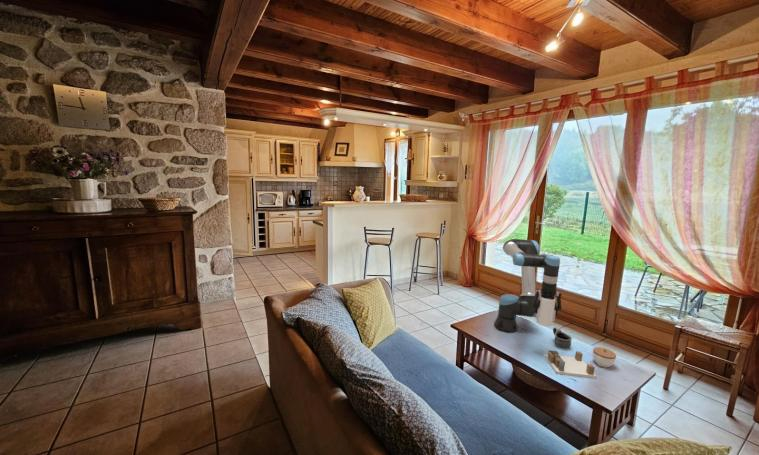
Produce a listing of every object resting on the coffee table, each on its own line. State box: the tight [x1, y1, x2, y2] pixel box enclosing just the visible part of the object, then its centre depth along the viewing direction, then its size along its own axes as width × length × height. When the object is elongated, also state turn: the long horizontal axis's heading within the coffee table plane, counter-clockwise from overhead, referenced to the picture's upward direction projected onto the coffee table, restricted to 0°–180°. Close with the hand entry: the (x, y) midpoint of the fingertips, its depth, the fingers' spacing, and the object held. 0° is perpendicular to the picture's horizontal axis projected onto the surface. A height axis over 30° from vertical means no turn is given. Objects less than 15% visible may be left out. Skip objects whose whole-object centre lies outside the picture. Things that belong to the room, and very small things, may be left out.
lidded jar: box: [592, 346, 617, 368], centre depth 183 cm, size 11×11×9 cm
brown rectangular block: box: [551, 350, 563, 367], centre depth 180 cm, size 9×3×5 cm, turn 173°
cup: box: [535, 294, 556, 327], centre depth 188 cm, size 8×8×16 cm
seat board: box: [544, 349, 598, 380], centre depth 179 cm, size 17×20×6 cm
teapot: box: [552, 326, 573, 349], centre depth 203 cm, size 10×12×10 cm
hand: (544, 319), depth 189 cm, fingers closed on cup, 8 cm apart
